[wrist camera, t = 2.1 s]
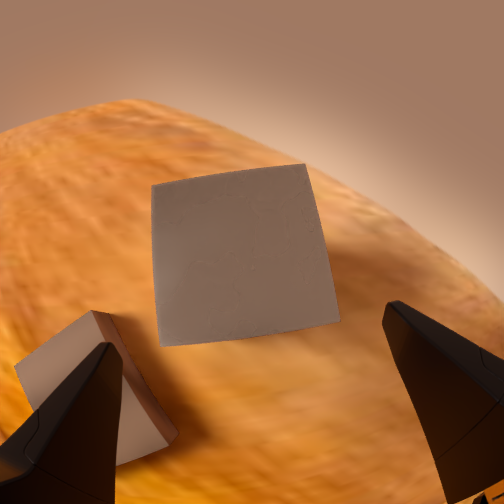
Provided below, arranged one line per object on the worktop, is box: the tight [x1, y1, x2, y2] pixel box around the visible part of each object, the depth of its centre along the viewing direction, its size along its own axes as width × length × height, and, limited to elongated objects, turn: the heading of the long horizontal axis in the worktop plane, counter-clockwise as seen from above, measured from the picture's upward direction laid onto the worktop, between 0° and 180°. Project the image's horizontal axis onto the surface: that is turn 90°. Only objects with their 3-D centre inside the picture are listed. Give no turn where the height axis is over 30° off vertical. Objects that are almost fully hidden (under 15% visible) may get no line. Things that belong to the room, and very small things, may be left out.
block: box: [14, 310, 179, 466], centre depth 15 cm, size 10×10×3 cm
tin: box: [151, 164, 341, 347], centre depth 14 cm, size 6×6×10 cm
